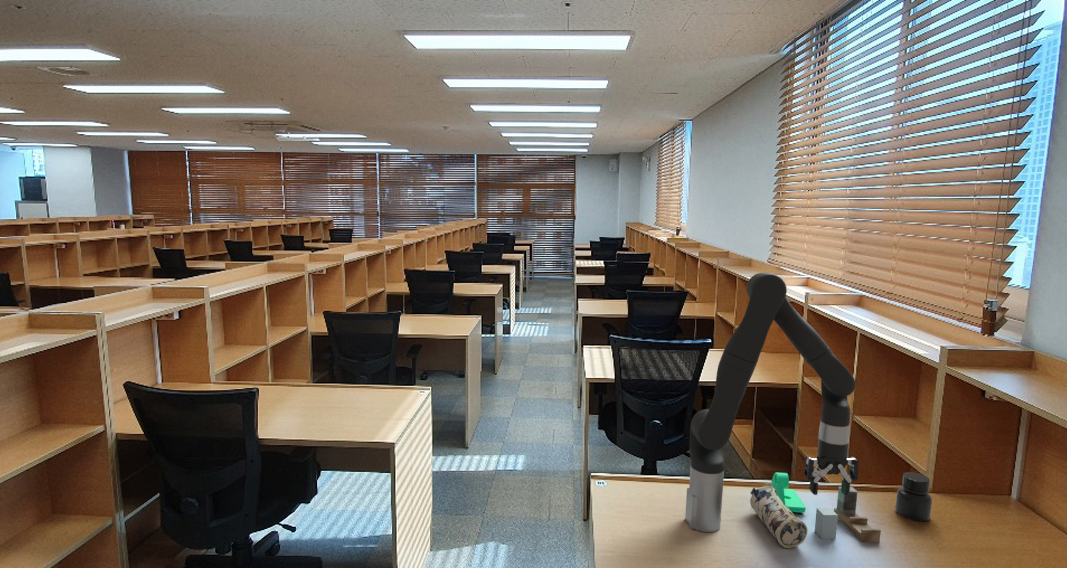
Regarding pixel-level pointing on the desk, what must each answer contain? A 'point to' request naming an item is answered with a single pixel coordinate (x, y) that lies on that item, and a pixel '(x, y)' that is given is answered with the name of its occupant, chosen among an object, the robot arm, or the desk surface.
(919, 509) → the ink bottle
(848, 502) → the rail
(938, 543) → the desk surface
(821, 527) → the finger block
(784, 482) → the camera mount
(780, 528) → the pencil case
